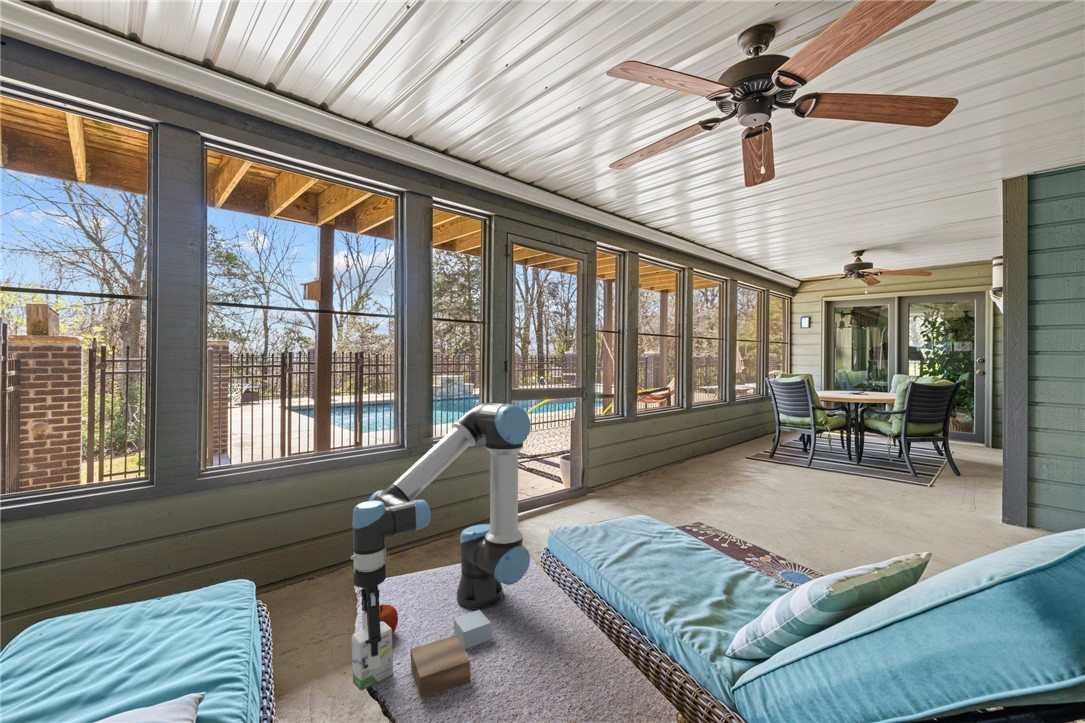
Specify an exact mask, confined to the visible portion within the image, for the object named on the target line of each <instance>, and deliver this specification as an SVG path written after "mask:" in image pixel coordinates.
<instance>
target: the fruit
mask: <svg viewBox="0 0 1085 723" xmlns="http://www.w3.org/2000/svg"><path fill="white" fill-rule="evenodd" d="M379 615H380V622H385V623H386V624H387V625H388V626H389V627H390V628H392V635H393V634H394V632H395V631H396V629H397V626H398V624H399V616H398V615H399V614H398V611H397V609H396V608H395V607H394V606H393V605H391V604H383V603H382V604H379Z"/></svg>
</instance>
